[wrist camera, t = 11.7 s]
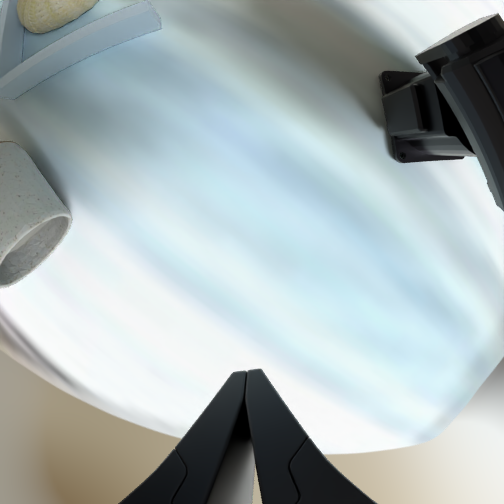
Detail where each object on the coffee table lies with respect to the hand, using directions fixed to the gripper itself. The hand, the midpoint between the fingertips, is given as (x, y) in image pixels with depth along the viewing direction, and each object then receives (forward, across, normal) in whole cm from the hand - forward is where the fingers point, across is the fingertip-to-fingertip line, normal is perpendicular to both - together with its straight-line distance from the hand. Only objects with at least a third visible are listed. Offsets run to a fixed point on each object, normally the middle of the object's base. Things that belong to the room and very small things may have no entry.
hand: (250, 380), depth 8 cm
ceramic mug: (+12, +17, -6) cm, 22 cm away
